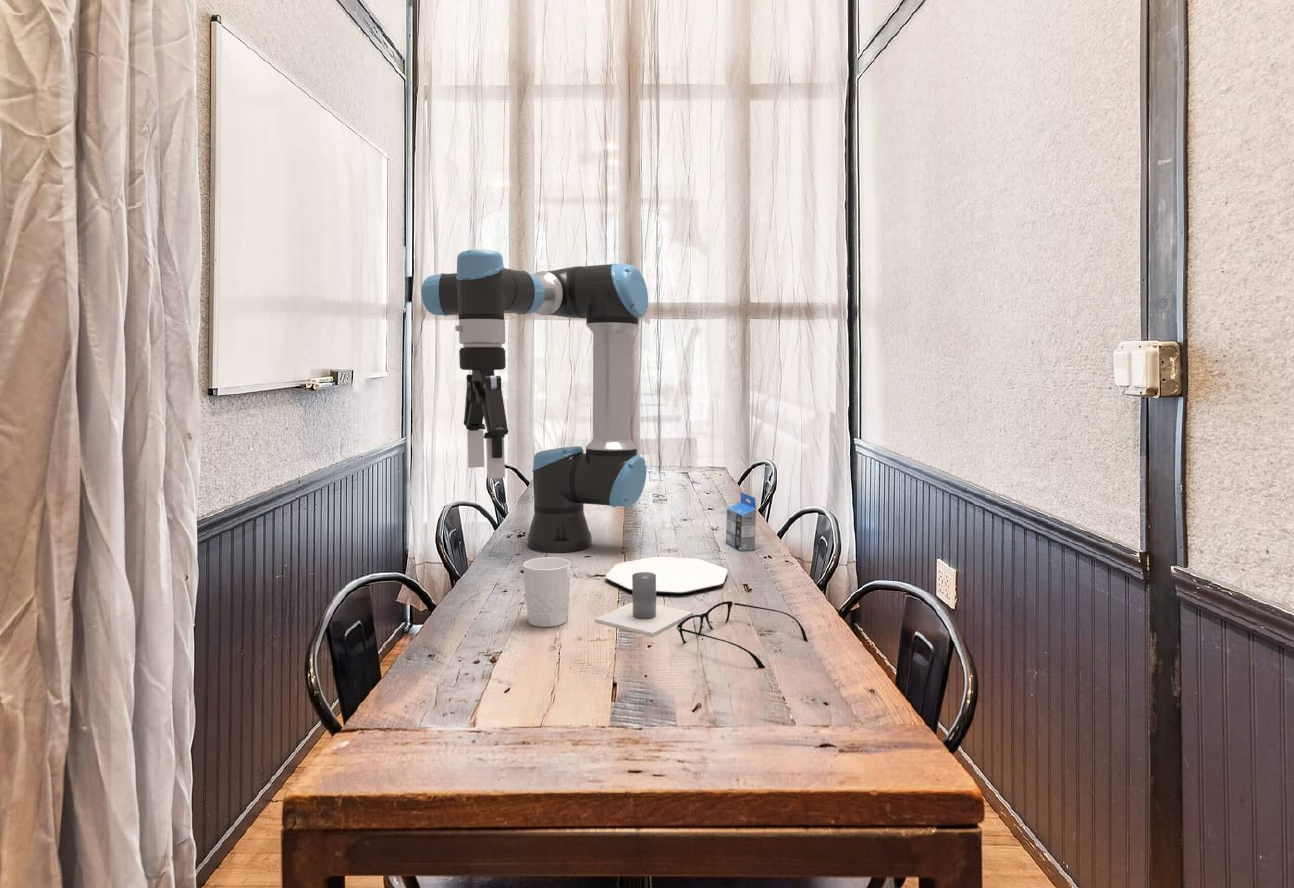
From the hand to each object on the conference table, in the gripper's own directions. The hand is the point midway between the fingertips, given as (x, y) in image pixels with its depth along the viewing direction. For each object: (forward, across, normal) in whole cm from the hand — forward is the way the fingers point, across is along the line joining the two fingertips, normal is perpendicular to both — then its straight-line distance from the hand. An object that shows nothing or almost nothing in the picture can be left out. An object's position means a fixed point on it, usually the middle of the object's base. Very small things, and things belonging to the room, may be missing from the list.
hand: (485, 472), depth 129 cm
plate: (+26, -6, +38) cm, 46 cm away
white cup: (+25, +7, +8) cm, 28 cm away
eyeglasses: (+26, +30, +32) cm, 51 cm away
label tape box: (+25, -21, +65) cm, 73 cm away
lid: (+25, +14, +23) cm, 37 cm away
